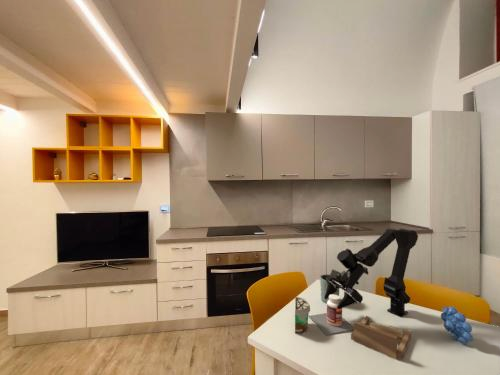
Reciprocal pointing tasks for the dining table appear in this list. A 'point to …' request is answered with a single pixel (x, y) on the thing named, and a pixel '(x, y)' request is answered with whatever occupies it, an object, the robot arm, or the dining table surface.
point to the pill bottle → (334, 310)
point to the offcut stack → (388, 331)
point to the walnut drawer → (379, 339)
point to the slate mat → (328, 328)
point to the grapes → (456, 325)
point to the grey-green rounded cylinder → (325, 288)
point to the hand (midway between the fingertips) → (331, 303)
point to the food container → (301, 315)
